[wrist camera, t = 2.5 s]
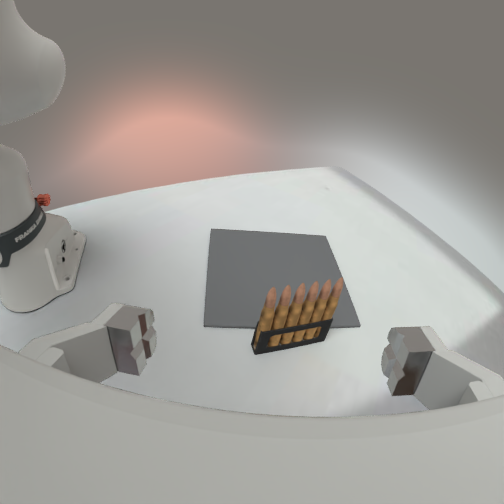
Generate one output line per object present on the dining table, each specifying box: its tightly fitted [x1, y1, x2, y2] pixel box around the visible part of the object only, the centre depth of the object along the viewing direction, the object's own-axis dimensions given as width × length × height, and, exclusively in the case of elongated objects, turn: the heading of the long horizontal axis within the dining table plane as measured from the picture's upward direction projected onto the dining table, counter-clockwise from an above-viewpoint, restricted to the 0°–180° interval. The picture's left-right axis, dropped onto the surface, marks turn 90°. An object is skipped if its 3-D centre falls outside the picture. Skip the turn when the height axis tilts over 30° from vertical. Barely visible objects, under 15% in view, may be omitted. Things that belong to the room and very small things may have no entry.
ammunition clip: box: [251, 277, 343, 355], centre depth 37 cm, size 11×2×12 cm, turn 105°
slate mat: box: [204, 229, 361, 328], centre depth 52 cm, size 24×24×1 cm
